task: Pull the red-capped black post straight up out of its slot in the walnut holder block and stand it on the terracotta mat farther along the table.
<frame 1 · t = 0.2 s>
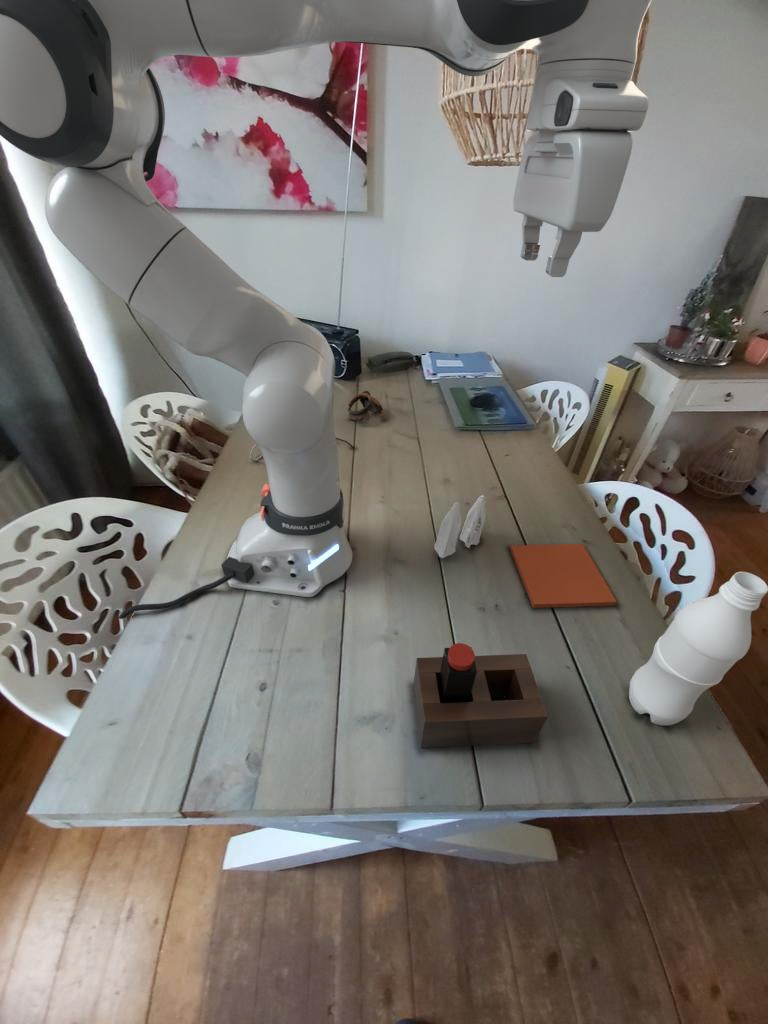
hand: (540, 267, 52), 48 cm above the table, tool pointing down, fingers open, 8 cm apart
brown looped piece: (366, 418, 124), on the table
water bottle: (650, 705, 60), on the table
eyeglasses: (303, 457, 108), on the table
mat: (559, 575, 78), on the table
shaker set: (456, 547, 84), on the table
holder: (470, 713, 59), on the table
red-capped black post: (447, 714, 59), resting in holder
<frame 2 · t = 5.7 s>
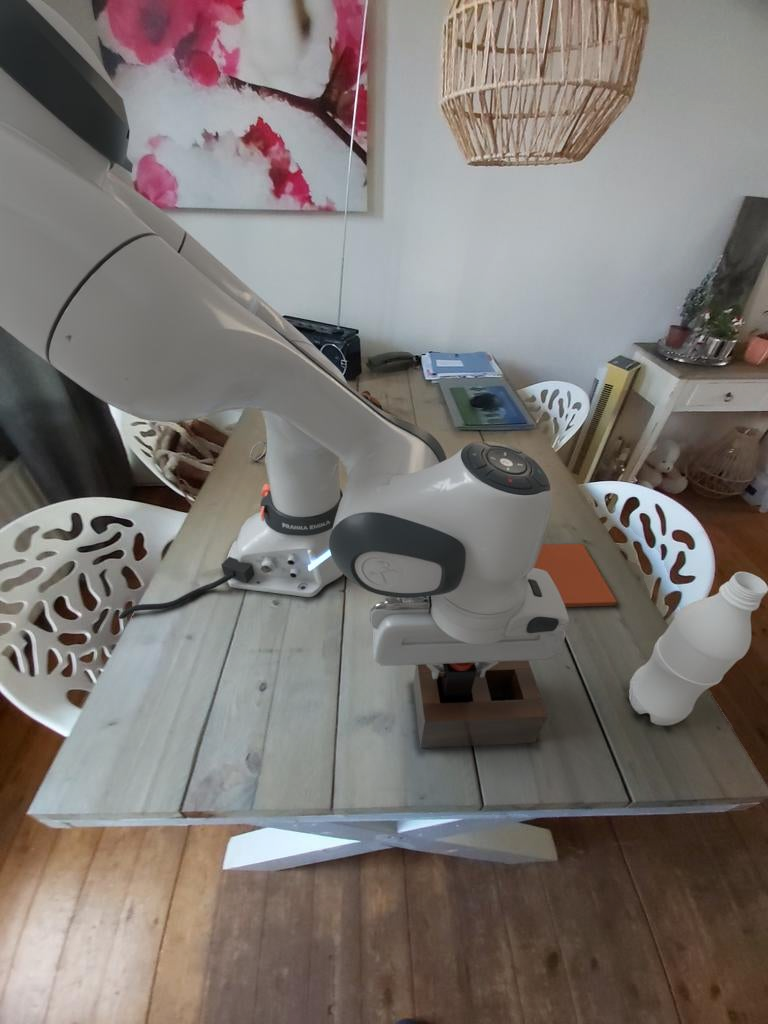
hand: (457, 672, 52), 10 cm above the table, tool pointing down, fingers closed on red-capped black post, 3 cm apart
red-capped black post: (447, 714, 59), resting in holder, touching gripper
everything else where it was.
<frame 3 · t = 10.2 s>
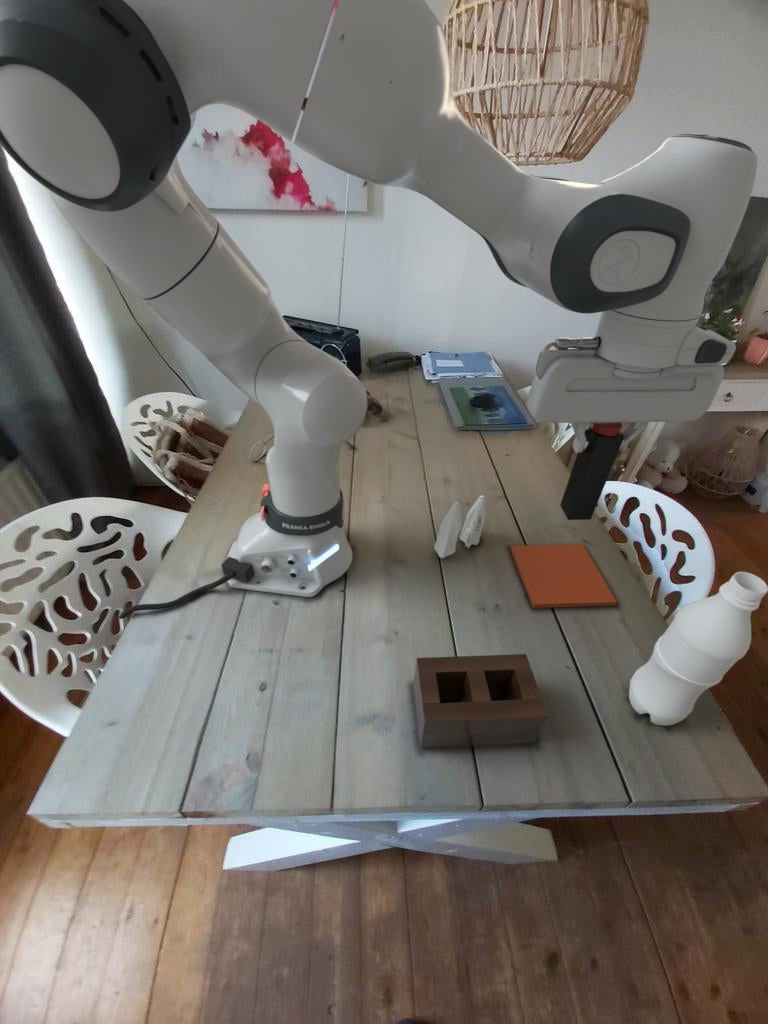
hand: (598, 450, 55), 29 cm above the table, tool pointing down, fingers closed on red-capped black post, 3 cm apart
red-capped black post: (575, 512, 62), point 19 cm above the table, touching gripper
everything else where it was.
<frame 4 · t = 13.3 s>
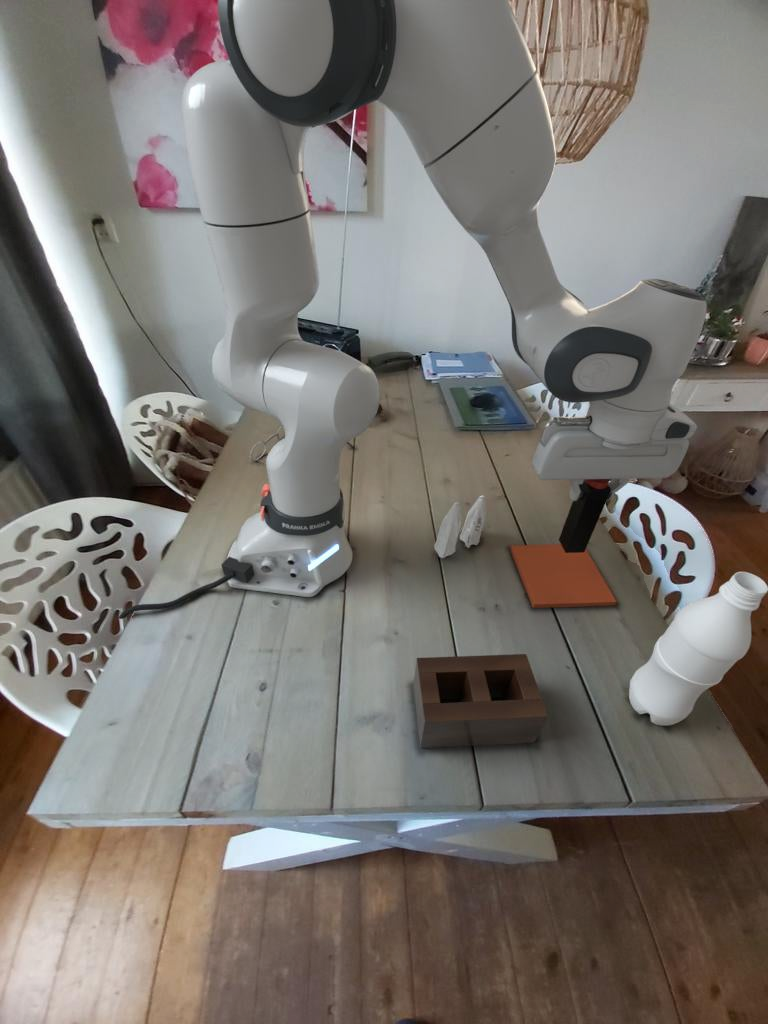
hand: (590, 498, 67), 17 cm above the table, tool pointing down, fingers closed on red-capped black post, 3 cm apart
red-capped black post: (571, 546, 74), point 7 cm above the table, touching gripper
everything else where it was.
when the fingers open (11 cm above the table, at t = 15.2 s): red-capped black post stays where it is, resting on mat.
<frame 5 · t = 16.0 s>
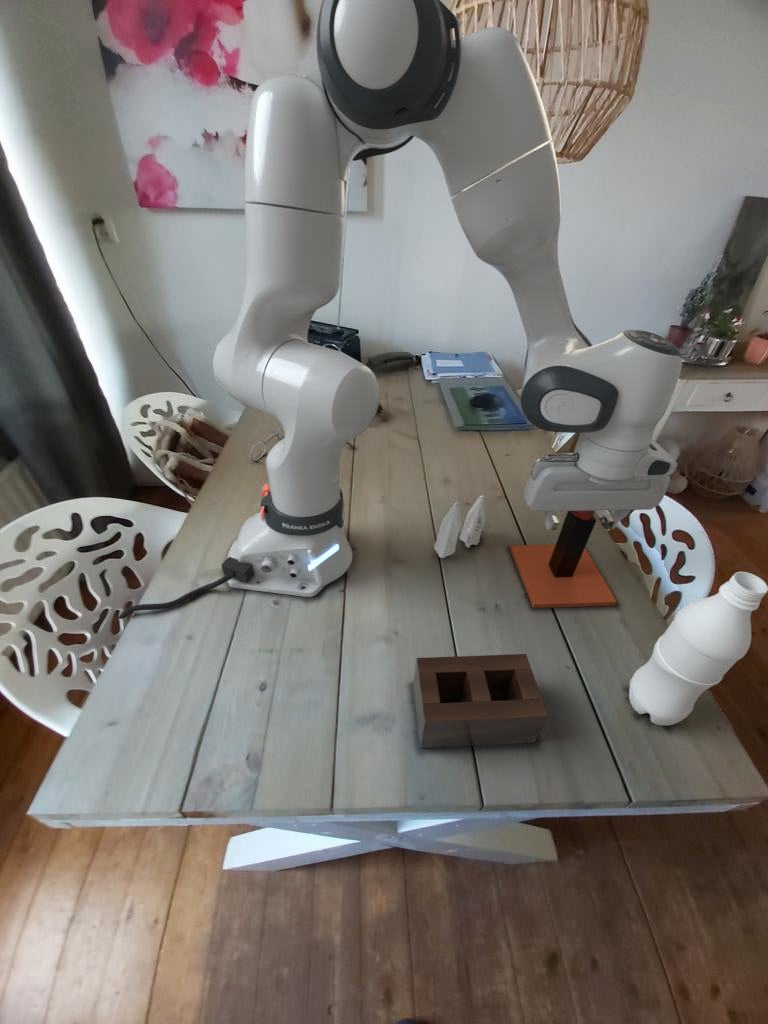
hand: (578, 527, 71), 12 cm above the table, tool pointing down, fingers open, 8 cm apart
red-capped black post: (560, 570, 78), point 1 cm above the table, touching mat
everything else where it was.
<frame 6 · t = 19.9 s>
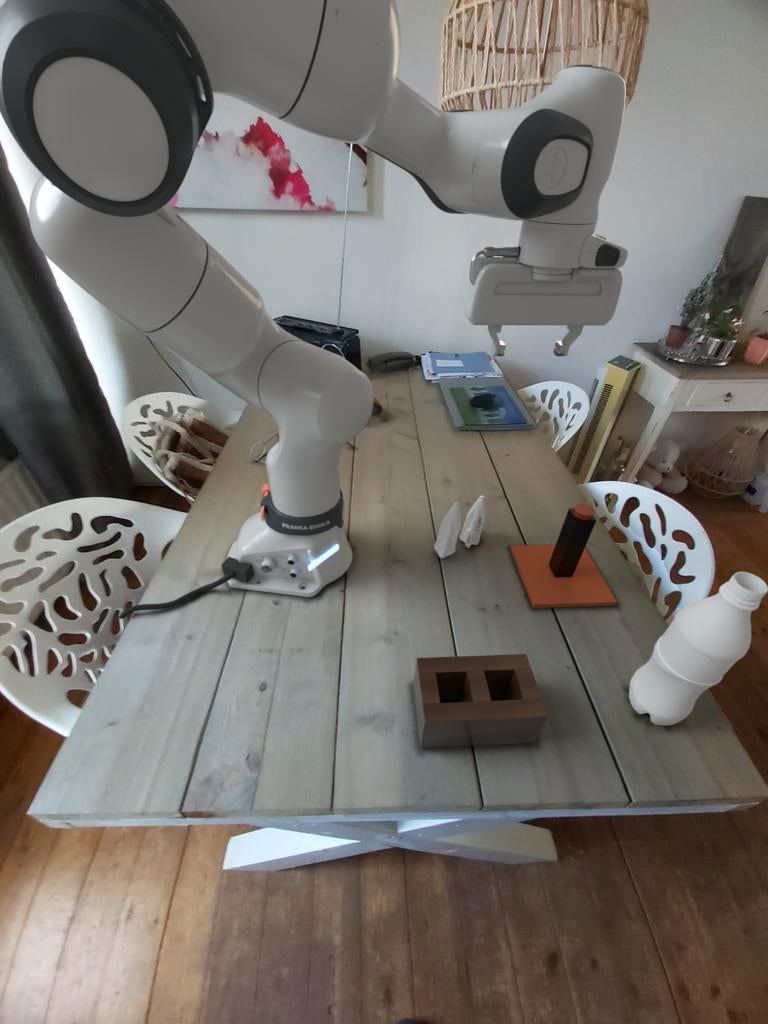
hand: (528, 355, 65), 35 cm above the table, tool pointing down, fingers open, 8 cm apart
nothing on the table moved.
at the end: red-capped black post inside the target area on the mat (0.3 cm from its centre), point 1.0 cm above the mat's base; red-capped black post tilted 0°; red-capped black post touching mat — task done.
